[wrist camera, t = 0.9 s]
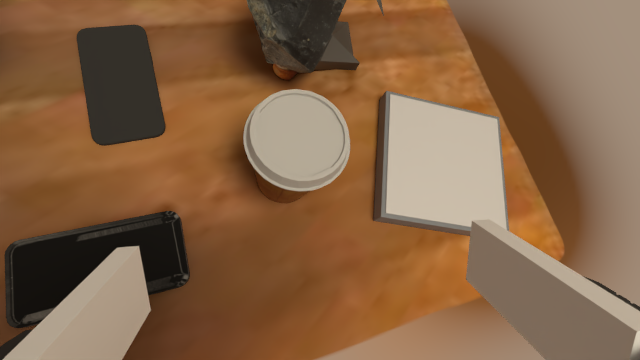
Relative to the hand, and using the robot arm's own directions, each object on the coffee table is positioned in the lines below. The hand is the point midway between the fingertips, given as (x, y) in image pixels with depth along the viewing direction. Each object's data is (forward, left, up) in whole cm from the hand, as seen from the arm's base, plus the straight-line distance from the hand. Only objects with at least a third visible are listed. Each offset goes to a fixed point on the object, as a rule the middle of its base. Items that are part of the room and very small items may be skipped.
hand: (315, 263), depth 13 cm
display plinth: (+20, +17, -24) cm, 35 cm away
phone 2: (-16, 0, -25) cm, 29 cm away
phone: (-20, +20, -25) cm, 37 cm away
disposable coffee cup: (0, +12, -24) cm, 27 cm away
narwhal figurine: (0, +29, -24) cm, 37 cm away
